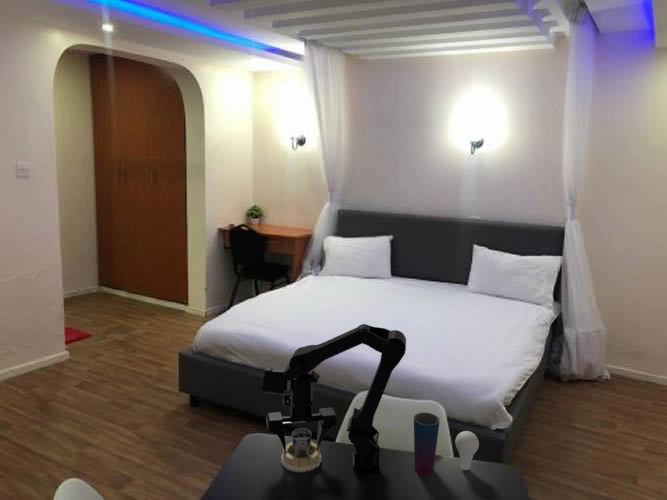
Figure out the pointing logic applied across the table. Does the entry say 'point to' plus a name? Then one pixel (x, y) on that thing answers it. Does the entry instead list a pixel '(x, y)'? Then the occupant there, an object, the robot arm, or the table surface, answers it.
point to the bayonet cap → (301, 443)
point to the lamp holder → (301, 459)
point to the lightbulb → (466, 448)
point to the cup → (425, 442)
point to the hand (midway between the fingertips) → (301, 447)
